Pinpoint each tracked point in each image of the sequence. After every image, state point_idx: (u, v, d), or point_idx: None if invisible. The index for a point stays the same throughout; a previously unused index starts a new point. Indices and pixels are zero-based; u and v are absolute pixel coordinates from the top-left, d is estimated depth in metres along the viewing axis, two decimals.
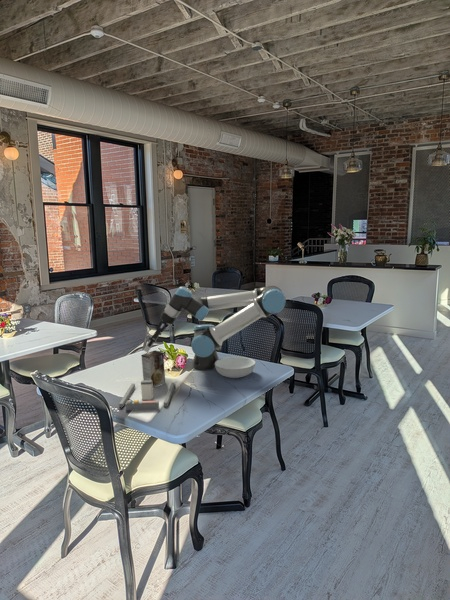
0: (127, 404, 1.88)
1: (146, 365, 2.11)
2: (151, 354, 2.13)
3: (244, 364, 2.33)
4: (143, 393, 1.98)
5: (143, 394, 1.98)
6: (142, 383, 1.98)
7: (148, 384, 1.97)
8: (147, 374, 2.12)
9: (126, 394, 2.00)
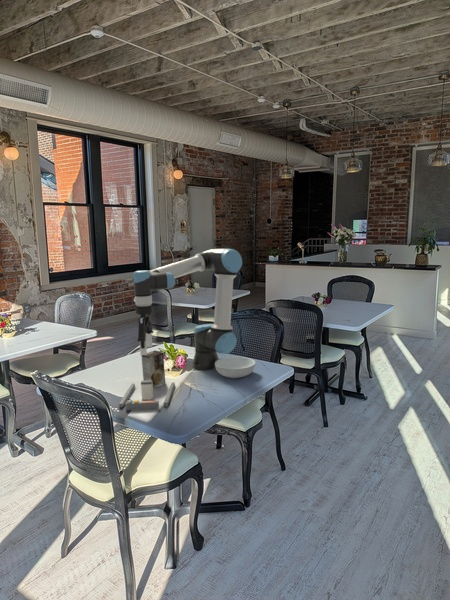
0: (127, 404, 1.88)
1: (146, 365, 2.11)
2: (151, 354, 2.13)
3: (244, 364, 2.33)
4: (143, 393, 1.98)
5: (143, 394, 1.98)
6: (142, 383, 1.98)
7: (148, 384, 1.97)
8: (147, 374, 2.12)
9: (126, 394, 2.00)
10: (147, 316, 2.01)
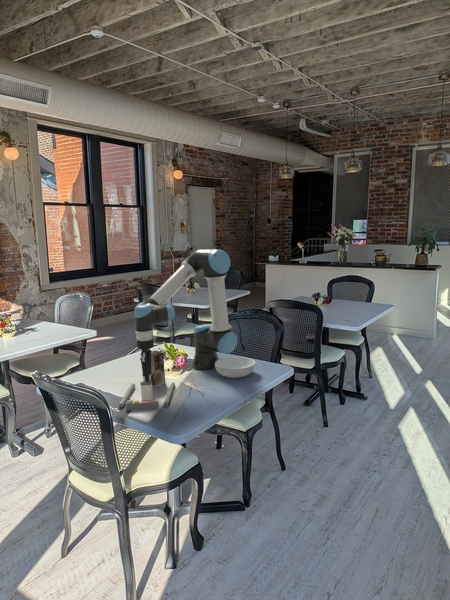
0: (127, 404, 1.88)
1: None
2: (151, 354, 2.13)
3: (244, 364, 2.33)
4: (143, 394, 1.97)
5: (143, 395, 1.97)
6: (142, 384, 1.97)
7: (148, 385, 1.97)
8: None
9: (126, 394, 2.00)
10: None
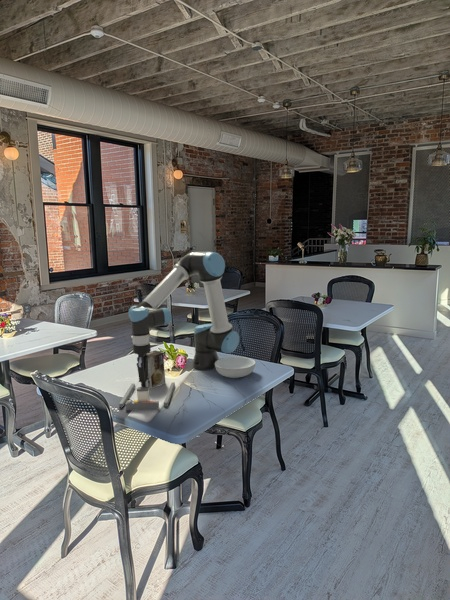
0: (127, 404, 1.88)
1: None
2: (151, 354, 2.13)
3: (244, 364, 2.33)
4: (140, 400, 1.90)
5: (139, 401, 1.90)
6: (138, 390, 1.90)
7: (144, 391, 1.89)
8: None
9: (126, 394, 2.00)
10: None
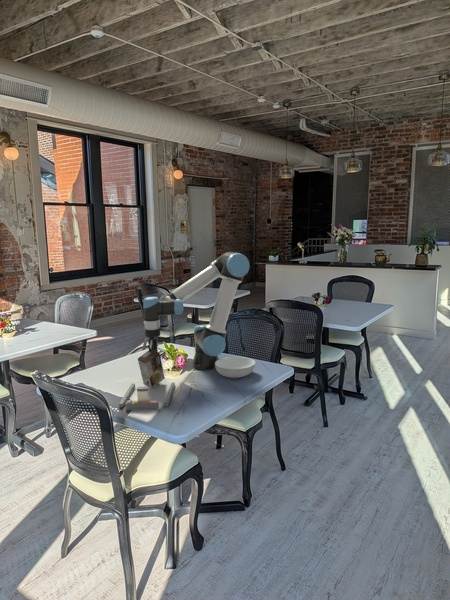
0: (127, 404, 1.88)
1: (143, 368, 2.08)
2: (147, 357, 2.07)
3: (244, 364, 2.33)
4: (140, 400, 1.90)
5: (139, 401, 1.90)
6: (138, 390, 1.90)
7: (144, 391, 1.89)
8: (146, 376, 2.10)
9: (126, 394, 2.00)
10: None
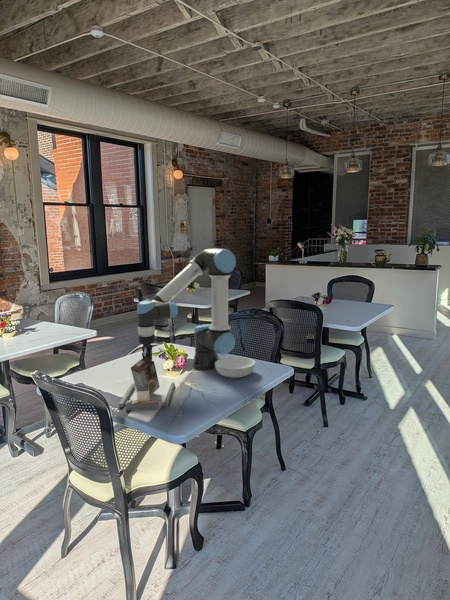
0: (127, 404, 1.88)
1: (137, 378, 1.95)
2: (141, 366, 1.95)
3: (244, 364, 2.33)
4: (140, 400, 1.90)
5: (139, 401, 1.90)
6: (138, 390, 1.90)
7: (144, 391, 1.89)
8: (139, 385, 1.97)
9: (126, 394, 2.00)
10: None
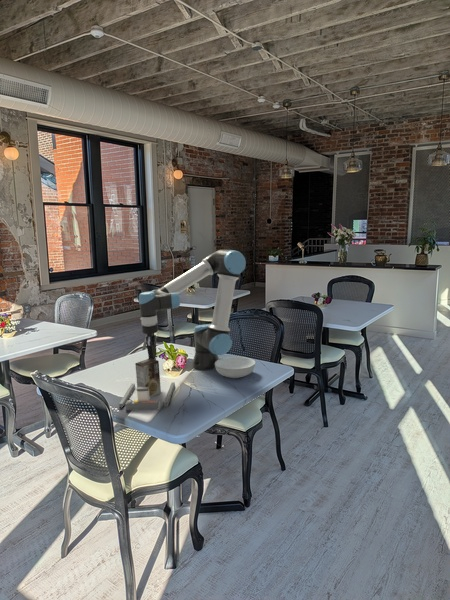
0: (127, 404, 1.88)
1: (140, 374, 1.99)
2: (145, 362, 2.00)
3: (244, 364, 2.33)
4: (140, 400, 1.90)
5: (139, 401, 1.90)
6: (138, 390, 1.90)
7: (144, 391, 1.89)
8: (141, 383, 1.99)
9: (126, 394, 2.00)
10: None
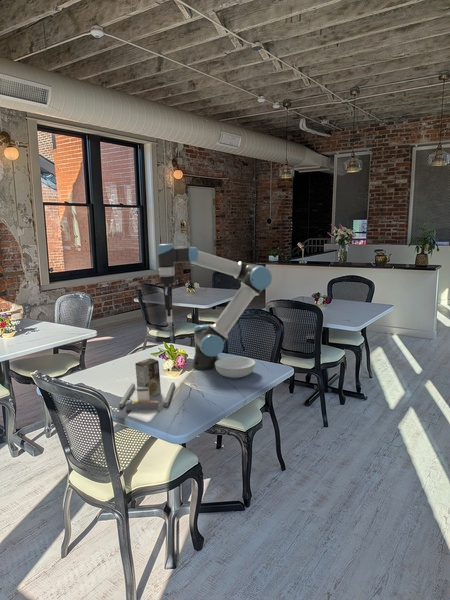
0: (127, 404, 1.88)
1: (140, 374, 1.99)
2: (145, 362, 2.00)
3: (244, 364, 2.33)
4: (140, 400, 1.90)
5: (139, 401, 1.90)
6: (138, 390, 1.90)
7: (144, 391, 1.89)
8: (141, 383, 1.99)
9: (126, 394, 2.00)
10: (170, 284, 2.19)
